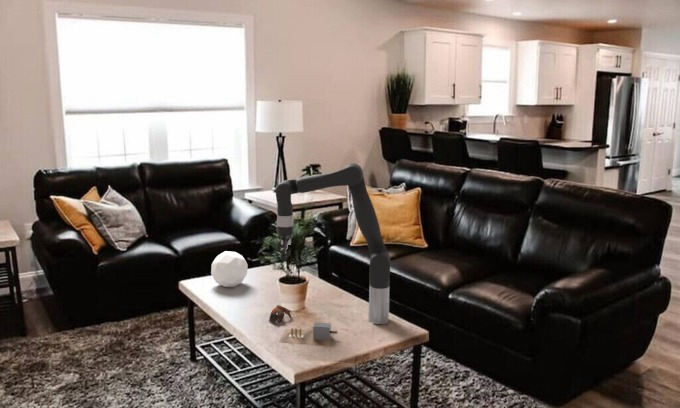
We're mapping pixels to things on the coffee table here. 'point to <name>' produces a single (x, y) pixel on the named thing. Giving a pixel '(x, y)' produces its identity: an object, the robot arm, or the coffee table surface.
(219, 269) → the geometric orb
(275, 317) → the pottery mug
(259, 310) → the coffee table surface
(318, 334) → the plug housing
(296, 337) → the header board
